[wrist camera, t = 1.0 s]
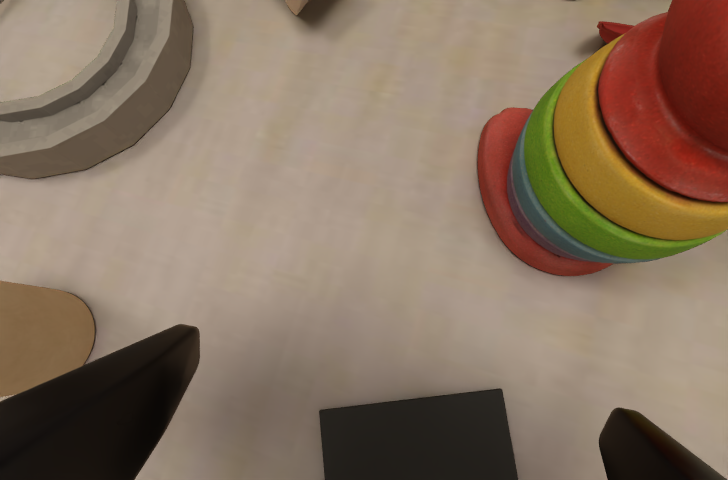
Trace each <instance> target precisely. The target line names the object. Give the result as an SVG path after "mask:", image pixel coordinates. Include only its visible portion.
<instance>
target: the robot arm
mask: <svg viewBox="0 0 728 480" xmlns="http://www.w3.org/2000/svg"><path fill="white" fill-rule="evenodd" d="M199 359H200V333H199V329H198V328H197V327H194V326H189V325H184V324H178V325H176V326H173V327H171V328H169V329H166V330H164V331H162V332H160V333H157V334H155V335H153V336H150V337H148V338H146V339H143V340H141V341H139V342H136V343H134V344H132V345H130V346H127V347H125V348H123V349H120V350H118V351H116V352H113V353H111V354H109V355H107V356H104V357H102V358H100V359H97V360H95V361H93V362H90V363H88V364H86V365H83V366H81V367H79V368H77V369H74V370H72V371H70V372H67V373H65V374H63V375H60V376H58V377H56V378H53V379H51V380H49V381H47V382H44V383H42V384H40V385H37V386H35V387H33V388H30V389H28V390H26V391H23V392H21V393H19V394H17V395H14V396H12V397H10V398H7V399H5V400H3V401H1V402H0V480H135V478H136V476H137V475H138V473H139V472H140V470H141V469H142V467H143V466H144V464H145V462H146V461H147V459H148V458H149V456H150V455H151V453H152V451H153V450H154V448H155V447H156V445H157V444H158V442H159V440H160V439H161V437H162V436H163V434H164V432H165V430H166V429H167V427H168V425H169V423H170V421H171V419H172V417H173V415H174V413H175V411H176V409H177V407H178V405H179V403H180V401H181V399H182V397H183V395H184V393H185V391H186V389H187V387H188V385H189V383H190V381H191V379H192V377H193V375H194V373H195V371H196V369H197V367H198V364H199ZM599 447H600V452H601V456H602V459H603V463H604V467H605V471H606V475H607V478H608V480H727V479H726V478H724V477H723V476H722V475H720V474H719V473H718V472H716V471H715V470H714V469H712V468H711V467H710V466H709V465H707V464H706V463H705V462H703V461H702V460H701V459H699V458H698V457H697V456H695V455H694V454H693V453H692V452H690V451H689V450H688V449H686V448H685V447H684V446H682V445H681V444H680V443H678V442H677V441H676V440H675V439H673V438H672V437H671V436H669V435H668V434H667V433H665V432H664V431H663V430H661V429H660V428H659V427H658V426H656V425H655V424H654V423H652V422H651V421H650V420H648V419H647V418H646V417H644V416H643V415H642V414H641V413H639V412H637V411H634V410H629V409H624V408H615V409H614V410H613V411H612V412H611V414H610V416H609V418H608V420H607V422H606V424H605V426H604V428H603V430H602V432H601V434H600V437H599Z"/></svg>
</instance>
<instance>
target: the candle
mask: <svg viewBox="0 0 728 480" xmlns="http://www.w3.org/2000/svg"><path fill="white" fill-rule="evenodd" d="M94 336H95V327H94V321H93V317H92V315H91V312H90V311H89V309H88V307H87V306H86V305H85V304H84V303H83V302H82V301H81V300H80V299H79V298H77V297H76V296H74V295H72V294H70V293H67V292H64V291H61V290H55V289H50V288H44V287H37V286H31V285H24V284H18V283H11V282H5V281H0V397H3V396H9V395H15V394H19V393H21V392H23V391H26V390H28V389H30V388H33V387H35V386H37V385H40V384H42V383H44V382H47V381H49V380H51V379H53V378H56V377H58V376H60V375H63V374H65V373H67V372H70V371H72V370H74V369H77V368H79V367H81V366H82V365H83V364H84V363H85V361H86V360H87V358H88V356H89V354H90V352H91V349H92V346H93V342H94Z"/></svg>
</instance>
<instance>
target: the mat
mask: <svg viewBox="0 0 728 480" xmlns="http://www.w3.org/2000/svg"><path fill="white" fill-rule="evenodd" d="M319 413H320V425H321V437H322V449H323V462H324V474H325V480H518V477H517V471H516V465H515V460H514V454H513V448H512V443H511V437H510V432H509V426H508V420H507V415H506V409H505V403H504V398H503V392H502V389H493V390H484V391H476V392H467V393H459V394H451V395H442V396H434V397H425V398H417V399H409V400H400V401H392V402H383V403H375V404H367V405H358V406H350V407H341V408H333V409H325V410H320V411H319Z"/></svg>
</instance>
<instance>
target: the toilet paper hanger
mask: <svg viewBox="0 0 728 480" xmlns="http://www.w3.org/2000/svg"><path fill="white" fill-rule="evenodd" d="M308 1H309V0H286V3H287V5H288V7H289V8H290V10H291V11H292V12H293V13H294V14H295V15H296V16H297V14H298V13H299V12H300V11H301V10H302V8H303V7H304V6H305V5H306V3H307V2H308Z"/></svg>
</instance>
